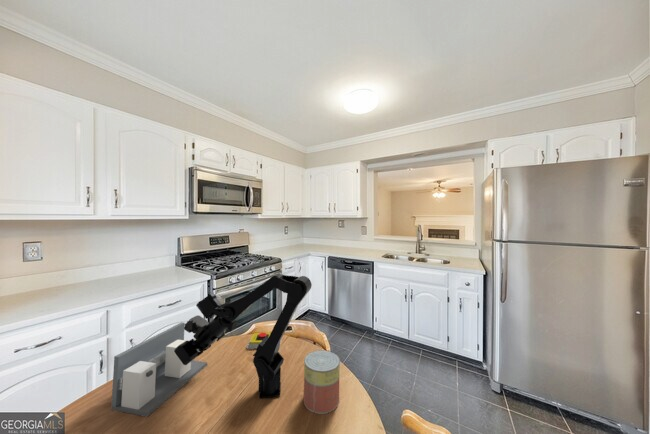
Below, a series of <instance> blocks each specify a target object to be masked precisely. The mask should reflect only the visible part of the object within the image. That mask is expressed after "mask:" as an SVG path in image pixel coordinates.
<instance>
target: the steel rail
mask: <svg viewBox="0 0 650 434" xmlns="http://www.w3.org/2000/svg"><path fill="white" fill-rule="evenodd" d="M165 358H166V351H164V352H163V353H161V354H159V355H158V356H156V357H154V358H153V359H151V360H149V361H148V362H151V363H156V367H157V366H159V365H160V364H162V363H163V362H165ZM122 384H123V377H122V378H120V379H119V389H118V390H122Z"/></svg>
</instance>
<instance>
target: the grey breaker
mask: <svg viewBox="0 0 650 434" xmlns="http://www.w3.org/2000/svg"><path fill="white" fill-rule="evenodd" d="M155 379H156V363H151V362H144V361H139V362H137V363H136V364H134V365H132V366H131V367H129V368H127V369H125V370H124V371H123V384H122V401H121V406H122V407H127V408H132V409H138V410H139V409H140V408H141V407H143V406H144V405H145V404H146V403H148V402H149V401H150V400H151V399H153V398H154V397H155Z"/></svg>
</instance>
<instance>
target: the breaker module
mask: <svg viewBox="0 0 650 434" xmlns="http://www.w3.org/2000/svg"><path fill="white" fill-rule="evenodd" d="M185 341H187V340H185V339H184V340H176V341H174V342H173V343H171V344H169V345H168V346H166V358H165V376H168V377H175V378H181V377H182V376H183V375H184V374H186V373H187V372H188V371H189V370H191V362H190V363H189V364H187V365H183V363H182V362H181V360H180V359H179V358H178V356H177V355H176V353H175V352H174V351H175V349H176V348H177V347H178V346H179V345H180V344H182V343H184V342H185Z"/></svg>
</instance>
